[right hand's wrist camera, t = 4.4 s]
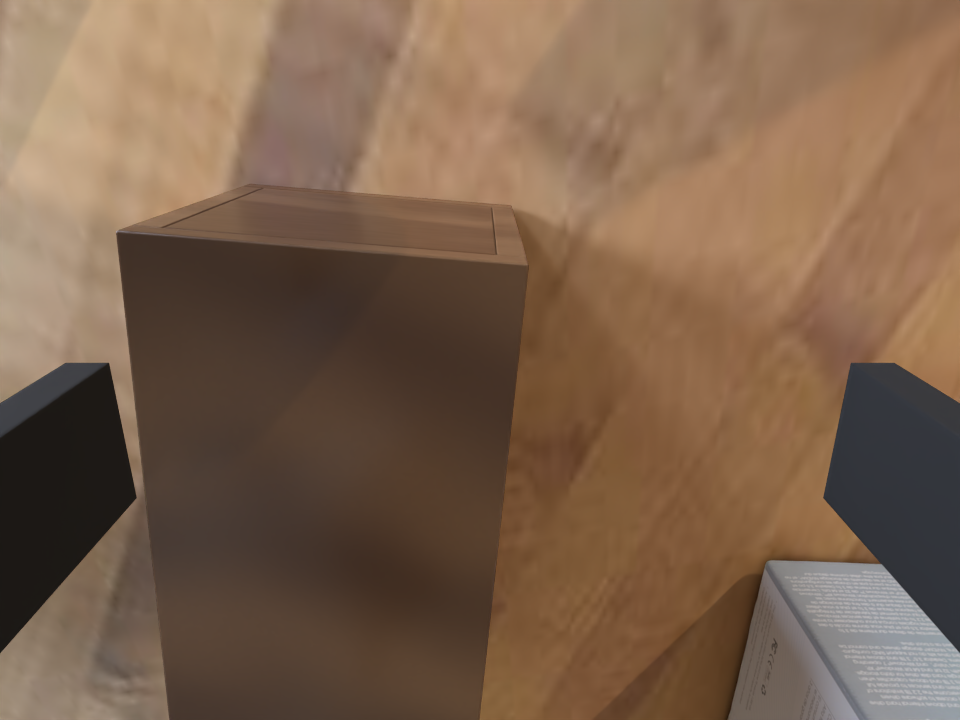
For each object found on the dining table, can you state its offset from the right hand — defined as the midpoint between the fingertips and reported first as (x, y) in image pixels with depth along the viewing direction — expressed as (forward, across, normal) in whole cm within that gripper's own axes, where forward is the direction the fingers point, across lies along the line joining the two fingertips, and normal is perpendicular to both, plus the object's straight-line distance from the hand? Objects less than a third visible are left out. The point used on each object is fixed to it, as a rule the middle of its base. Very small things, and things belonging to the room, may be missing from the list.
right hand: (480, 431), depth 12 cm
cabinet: (+18, -5, -9) cm, 21 cm away
